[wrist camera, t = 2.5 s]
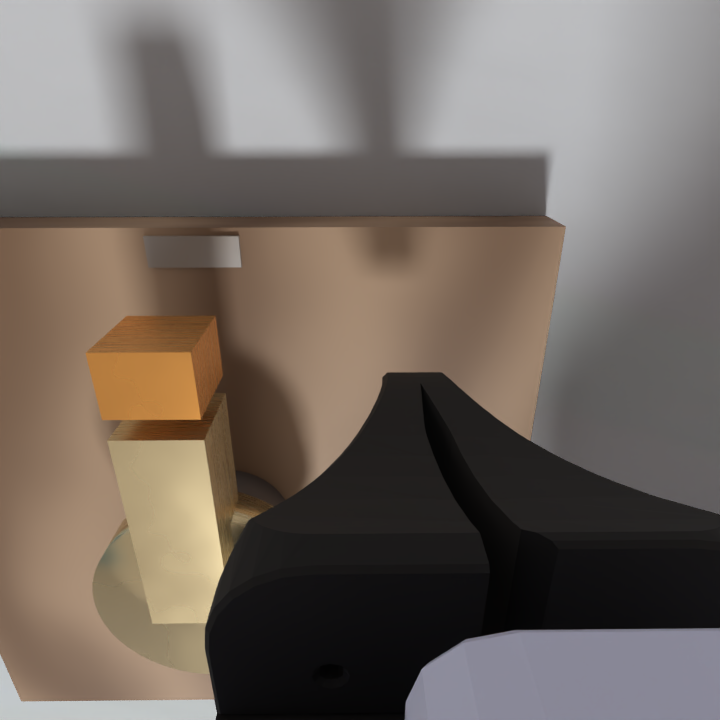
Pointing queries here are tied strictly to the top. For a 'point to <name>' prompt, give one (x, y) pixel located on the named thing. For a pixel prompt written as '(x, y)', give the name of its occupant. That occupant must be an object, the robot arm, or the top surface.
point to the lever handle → (167, 485)
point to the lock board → (230, 380)
